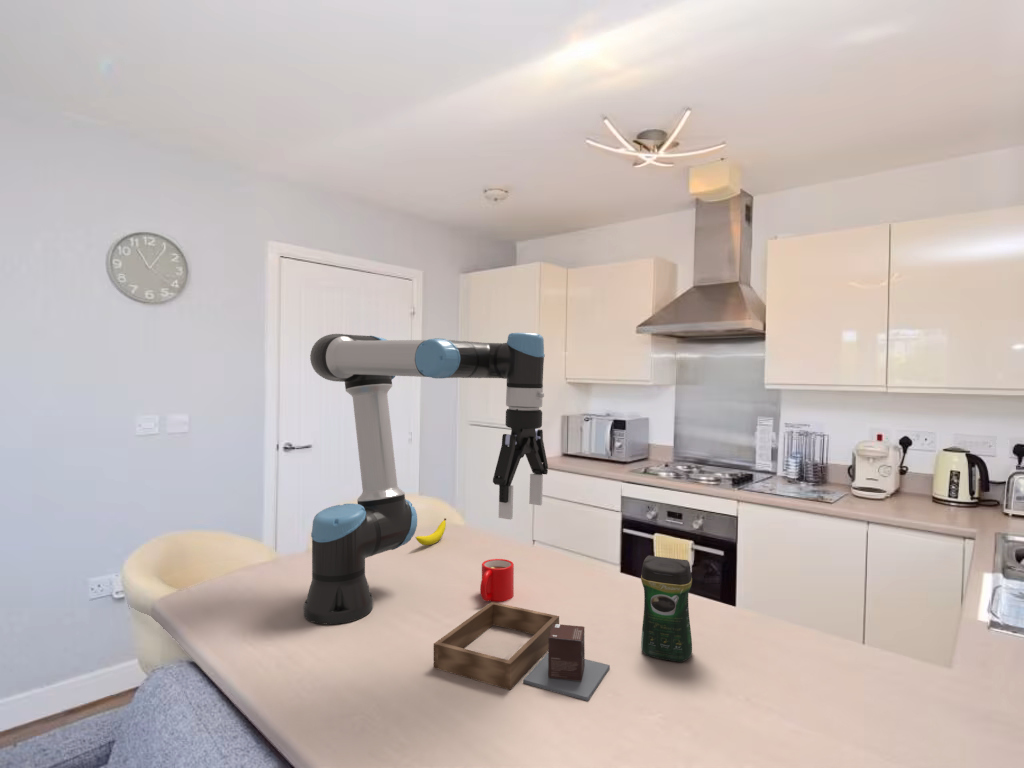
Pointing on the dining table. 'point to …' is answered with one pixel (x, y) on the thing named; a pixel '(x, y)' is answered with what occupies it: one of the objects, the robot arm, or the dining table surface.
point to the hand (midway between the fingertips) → (521, 511)
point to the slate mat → (568, 687)
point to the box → (566, 652)
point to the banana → (433, 535)
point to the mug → (497, 580)
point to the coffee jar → (666, 608)
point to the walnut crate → (489, 667)
